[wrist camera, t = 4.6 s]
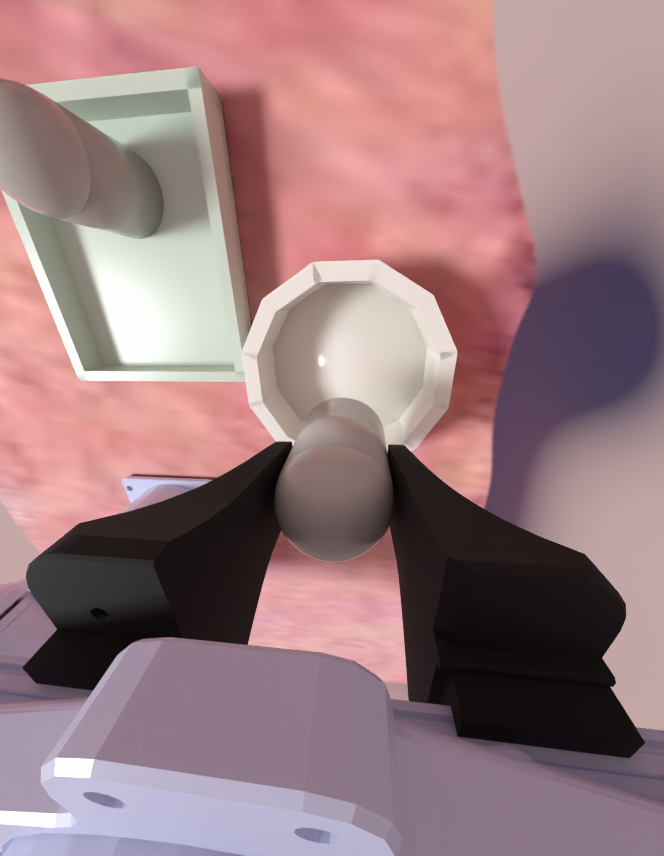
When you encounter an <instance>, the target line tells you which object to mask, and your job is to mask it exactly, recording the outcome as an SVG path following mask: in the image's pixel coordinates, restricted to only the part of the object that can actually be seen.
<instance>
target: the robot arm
mask: <svg viewBox="0 0 664 856" xmlns="http://www.w3.org/2000/svg"><path fill="white" fill-rule="evenodd" d="M291 449H292V442H285V441H277V442H275V443H273V444H272V445H270V446H269V447H267V448H265V449H264V450H262V451H261V452H259V453H258V454H256V455H255V456H253V457H252V458H250V459H249V460H247V461H246V462H244V463H242V464H241V465H239V466H237V467H236V468H234V469H232V470H231V471H229V472H227V473H225V474H224V475H222V476H220V477H218V478H216V479H214V480H211V479H190V478H166V477H142V476H127V477H125V478H124V479H123V480H122V483H123V485H124V488H125V490H126V493H127V495H128V498H129V500H130V503H131V504H130V505H128V506H127V507H126V508H125V509H124V510H123V511H122V512H121V513H119V514H117V515H112V516H108V517H104V518H100V519H96V520H92V521H88V522H83V523H79V524H78V525H76V526H75V527H74V528H73V529H71V530H70V531H69V532H68V533H66V534H65V535H64V536H63V537H62V538H60V539H59V540H58V541H57V542H55V543H54V544H53V545H52V546H50V547H49V548H48V549H47V550H45V551H44V552H43V553H42V554H40V555H39V556H38V557H37V558H35V559H34V560H33V561H32V562H31V563H30V564H29V566H28V569H27V572H26V579H27V580H25V579H22V580H20V581H18V582H17V583H14V582H12V583H7V584H1V585H0V856H664V731H662V730H653V729H645V728H636V727H635V726H634V724H633V723H632V721H631V719H630V718H629V716H628V715H627V713H626V711H625V710H624V708H623V707H622V705H621V703H620V702H619V701H618V699H617V697H616V696H615V694H614V692H613V691H612V689H611V688H610V686H612V687H613V686H614V685H615V684H616V681H615V677H614V676H613V674H612V673H611V671H610V669H609V668H608V667H607V665H606V664H605V662H604V661H603V659H602V657H603V656H604V654H605V652H606V651H607V649H608V648H609V646H610V645H611V644H612V642H613V641H614V640H615V638H616V637H617V635H618V634H619V632H620V630H621V628H622V626H623V624H624V621H625V618H626V604H625V602H624V601H623V599H622V598H621V596H620V594H619V593H618V591H617V590H616V589H615V588H614V587H613V586H612V585H611V583H609V581H608V580H607V579H606V578H605V576H604V575H603V574H602V573H601V572H600V571H599V570H598V569H597V567H596V566H595V565H594V564H593V563H592V562H591V560H590V559H589V558H588V557H587V556H586V555H585V554H583V553H580V552H578V551H575V550H573V549H570V548H568V547H565V546H563V545H560V544H557V543H555V542H552V541H550V540H547V539H544V538H542V537H540V536H537V535H535V534H533V533H531V532H528V531H526V530H524V529H522V528H520V527H517V526H515V525H513V524H511V523H509V522H507V521H505V520H503V519H501V518H499V517H497V516H495V515H494V514H492V513H490V512H488V511H487V510H485V509H483V508H481V507H479V506H478V505H476V504H474V503H473V502H471V501H470V500H468V499H467V498H465V497H464V496H462V495H461V494H459V493H458V492H456V491H455V490H453V489H452V488H451V487H449V486H448V485H447V484H445V483H444V482H443V481H442V480H441V479H439V478H438V477H437V476H436V475H435V474H433V473H432V472H431V471H430V470H429V469H428V468H427V467H426V466H425V465H424V464H422V463H421V462H420V461H419V460H418V459H417V458H416V457H415V456H414V455H413V453H412V452H411V451H410V450H409V449H408V448H407V447H406V446H405V445H392V444H388V459H389V466H390V472H391V478H392V484H393V491H394V510H393V515H392V519H391V522H390V530H391V535H392V540H393V545H394V550H395V555H396V560H397V567H398V574H399V584H400V595H401V606H402V617H403V629H404V642H405V655H406V668H407V682H408V697H409V701H404V700H395V699H391V698H390V696H389V693H388V690H387V688H386V685H385V684H384V683H383V682H382V680H381V679H380V678H379V677H378V676H376V675H375V674H373V673H372V672H370V671H369V670H367V669H366V668H364V667H363V666H361V665H360V664H358V663H357V662H355V661H352V660H349V659H345V658H341V657H337V656H333V655H329V654H325V653H320V652H311V651H301V650H291V649H281V648H272V647H262V646H252V645H248V641H249V637H250V632H251V628H252V624H253V620H254V616H255V612H256V608H257V604H258V600H259V596H260V592H261V588H262V585H263V581H264V578H265V574H266V570H267V567H268V563H269V560H270V557H271V554H272V551H273V549H274V546H275V544H276V541H277V539H278V536H279V534H280V531H281V528H280V526H279V524H278V521H277V517H276V514H275V507H274V494H275V488H276V483H277V480H278V478H279V475H280V473H281V470H282V468H283V466H284V464H285V462H286V460H287V458H288V455H289V453H290V451H291ZM28 589H30V590H29V591H27V590H28Z"/></svg>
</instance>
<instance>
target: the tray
mask: <svg viewBox="0 0 664 856" xmlns="http://www.w3.org/2000/svg"><path fill="white" fill-rule="evenodd" d="M26 86H29V87H31V88H33V89H35V90H37V91H38V92H40V93H42V94H44V95H45V96H47V97H49V98H50V99H52V100H53V101H55V102H56V103H58V104H60V105H61V106H63V107H64V108H66V109H67V110H69V111H70V112H72V113H74V114H75V115H77V116H78V117H80V118H81V119H83V120H85V121H86V122H88V123H89V124H91V125H92V126H94V127H96V128H97V129H99V130H100V131H102V132H103V133H105V134H107V135H108V136H110V137H111V138H113V139H114V140H116V141H118V142H119V143H121V144H122V145H124V146H125V147H127V148H129V149H130V150H132V151H133V152H135V153H136V154H138V155H139V156H140V157H141V158H143V159H144V160H145V161H146V162H147V164H148V165H149V166H150V167H151V169H152V170H153V172H154V174H155V175H156V177H157V179H158V182H159V184H160V187H161V190H162V195H163V202H164V211H163V217H162V221H161V223H160V225H159V227H158V229H157V230H156V231H155V232H154V233H153V234H152V235H150V236H149V237H146V238H143V239H134V238H129V237H125V236H121V235H118V234H114V233H110V232H106V231H102V230H98V229H94V228H90V227H86V226H83V225H79V224H75V223H71V222H67V221H63V220H59V219H55V218H51V217H48V216H45V215H42V214H39V213H37V212H35V211H33V210H31V209H29V208H27V207H25V206H23V205H22V204H20V203H19V202H17V201H15V200H14V199H13V198H11V197H10V196H9V195H7V194H6V193H5V192H4V191H2V193H3V195H4V198H5V200H6V203H7V205H8V208H9V210H10V213H11V215H12V217H13V220H14V222H15V225H16V227H17V230H18V232H19V235H20V237H21V239H22V242H23V244H24V247H25V249H26V252H27V254H28V257H29V259H30V261H31V264H32V266H33V269H34V271H35V274H36V276H37V279H38V281H39V283H40V286H41V288H42V291H43V293H44V296H45V298H46V301H47V303H48V305H49V308H50V310H51V313H52V315H53V318H54V320H55V323H56V325H57V327H58V330H59V332H60V335H61V337H62V340H63V342H64V345H65V347H66V349H67V352H68V354H69V357H70V359H71V362H72V364H73V367H74V369H75V371H76V374H77V376H78V379H79V381H218V382H246V381H245V375H244V368H243V362H242V355H241V352H242V349H243V347H244V344H245V342H246V339H247V337H248V334H249V331H250V329H251V320H250V313H249V305H248V298H247V290H246V283H245V275H244V268H243V260H242V253H241V246H240V238H239V231H238V223H237V216H236V208H235V201H234V193H233V186H232V178H231V171H230V163H229V156H228V148H227V141H226V134H225V126H224V119H223V111H222V104H221V98H220V96H219V95H218V94H217V92H216V91H215V89H214V88H213V86H212V85H211V84H210V82H209V81H208V79H207V78H206V77H205V75H204V74H203V72H202V71H201V70H200V68H199V67H198V66H196V67H187V68H177V69H168V70H159V71H150V72H141V73H131V74H122V75H113V76H104V77H95V78H85V79H76V80H67V81H58V82H49V83H39V84H30V85H26Z"/></svg>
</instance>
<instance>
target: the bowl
mask: <svg viewBox="0 0 664 856" xmlns="http://www.w3.org/2000/svg"><path fill="white" fill-rule="evenodd" d="M457 353H458V351H457V349H456V347H455V344H454V342H453V340H452V337H451V335H450V333H449V330H448V328H447V326H446V323H445V321H444V318H443V316H442V314H441V311H440V309H439V307H438V304H437V302H436V300H435V297H434V295H433V294H431V293H430V292H428V291H427V290H425V289H423V288H422V287H420V286H419V285H417V284H416V283H414V282H413V281H411V280H409V279H408V278H406V277H405V276H403V275H402V274H400V273H399V272H397V271H396V270H394V269H392V268H391V267H389V266H388V265H386V264H385V263H383V262H382V261H380V260H353V261H325V262H312V263H311V264H309V265H308V266H307V267H305V268H304V269H302V270H301V271H300V272H298V273H297V274H296V275H294V276H293V277H292V278H290V279H289V280H287V281H286V282H285V283H283V284H282V285H281V286H279V287H278V288H277V289H275V290H274V291H272V292H271V293H270V294H268V295H267V296H266V297H264V298H263V299H262V301H261V303H260V306H259V308H258V311H257V314H256V316H255V319H254V321H253V324H252V326H251V329H250V331H249V334H248V337H247V339H246V342H245V344H244V347H243V349H242V352H241V355H242V362H243V368H244V375H245V381H246V388H247V394H248V401H249V406H250V407H251V409H252V410H253V411H254V413H255V414H256V415H257V417H258V418H259V419H260V421H261V422H262V423H263V425H264V426H265V427H266V429H267V430H268V431H269V433H270V434H271V436H272V437H273V438H274V440H275V441H276V442H277V441H285V442H292V447H293V445H294V443H295V441H296V438H297V436H298V434H299V432H300V430H301V428H302V426H303V423H304V421H305V419H306V417H307V416H308V414H309V413H310V412H311V410H312V409H313V408H314V407H316V406H317V405H318V404H320V403H322V402H324V401H326V400H329V399H333V398H351V399H355V400H358V401H360V402H363V403H364V404H366V405H368V406H369V407H370V408H372V409H373V410H374V411H375V413H376V414H377V415H378V417H379V418H380V420H381V422H382V425H383V429H384V434H385V441H386V447H387V453H388V444H392V445H405V446H406V447H407V448H408V449H409V450H410V451H413V450H415V449H416V448H417V447H418V445H419V444H420V443H421V442H422V440H423V439H424V438H425V437H426V436H427V434H428V433H429V432H430V431H431V429H432V428H433V427H434V426H435V424H436V423H437V422H438V421H439V419H440V418H441V417H442V416H443V415H444V413H445V412H446V411H447V410H448V408H449V402H450V396H451V390H452V384H453V378H454V372H455V366H456V360H457Z"/></svg>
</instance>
